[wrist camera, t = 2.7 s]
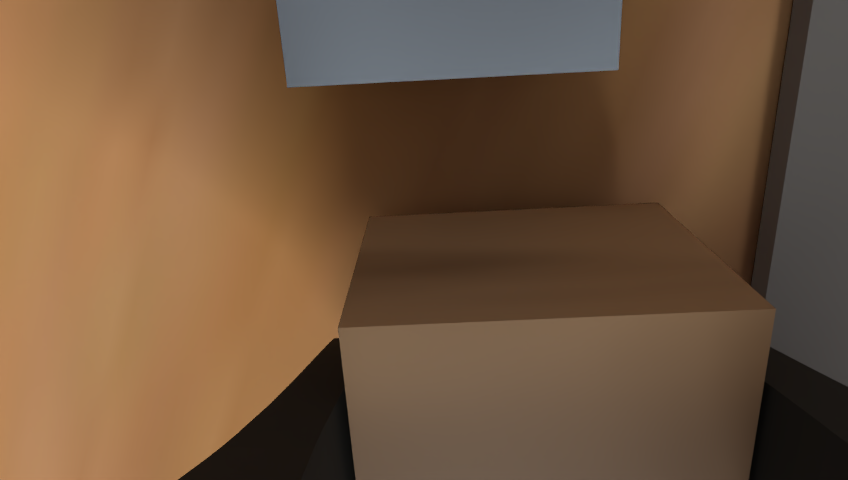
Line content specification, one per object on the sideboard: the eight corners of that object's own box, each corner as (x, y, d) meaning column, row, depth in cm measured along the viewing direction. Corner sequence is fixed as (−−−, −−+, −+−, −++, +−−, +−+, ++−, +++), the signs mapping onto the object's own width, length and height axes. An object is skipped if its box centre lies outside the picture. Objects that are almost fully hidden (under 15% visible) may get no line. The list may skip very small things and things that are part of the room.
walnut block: (638, 439, 13) (725, 624, 9) (390, 449, 13) (374, 634, 9) (657, 202, 11) (775, 308, 7) (369, 216, 11) (337, 328, 7)
